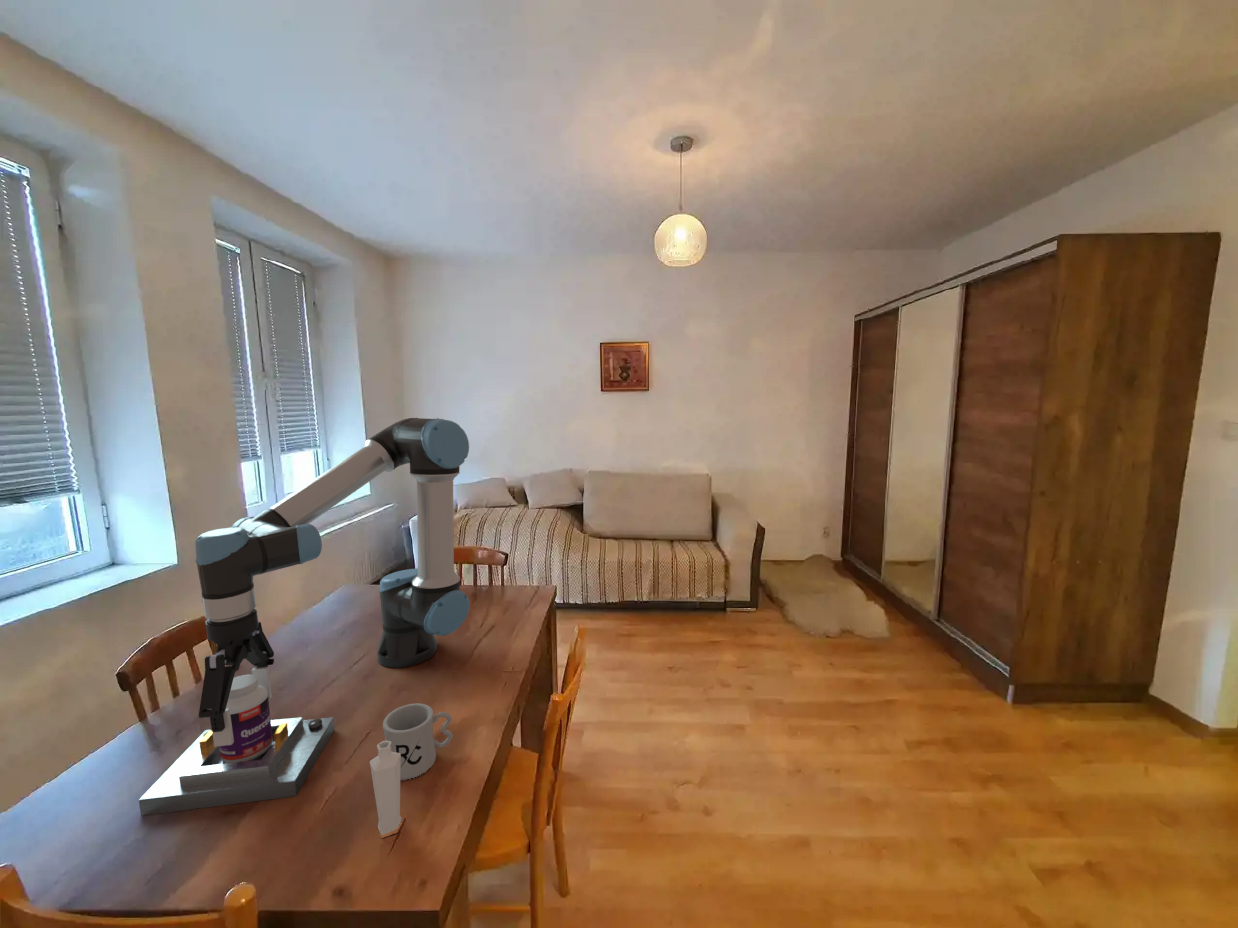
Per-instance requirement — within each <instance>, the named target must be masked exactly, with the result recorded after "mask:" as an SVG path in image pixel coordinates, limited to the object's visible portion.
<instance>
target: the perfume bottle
mask: <svg viewBox="0 0 1238 928" xmlns="http://www.w3.org/2000/svg"><path fill="white" fill-rule="evenodd" d="M376 747H377V755H376V756H374V758H373V759H371V760H370V761H369V766H370V772H371V778H372V787H373V791H374V798H375V805H376V810H377V817H378V823H377V824H378V825H377V827H378V829H379V831H380V833H381V835H384V834H386V833H389V832H391V831H394V830H396V829H397V828H398V826H399V824H400V822H401V819H402V817H401V780H400V767H401V754H400V753H396V752H391V741H386V740H382V741H381V742H379V743H378V744H377V745H376ZM402 820H403V819H402Z"/></svg>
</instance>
